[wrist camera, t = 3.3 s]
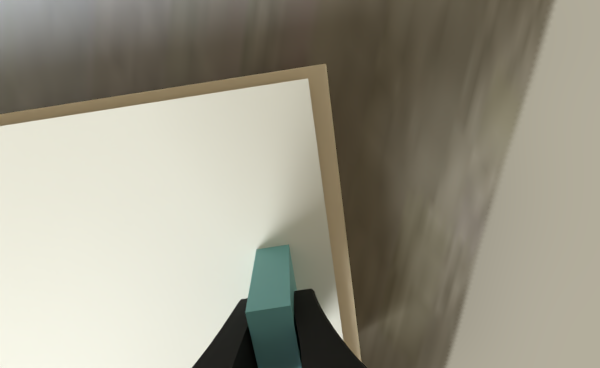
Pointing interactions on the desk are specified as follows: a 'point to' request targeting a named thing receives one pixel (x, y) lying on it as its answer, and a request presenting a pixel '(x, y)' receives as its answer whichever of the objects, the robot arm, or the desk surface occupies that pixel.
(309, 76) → the wooden box
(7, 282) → the lid flap
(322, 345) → the robot arm
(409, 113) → the desk surface
